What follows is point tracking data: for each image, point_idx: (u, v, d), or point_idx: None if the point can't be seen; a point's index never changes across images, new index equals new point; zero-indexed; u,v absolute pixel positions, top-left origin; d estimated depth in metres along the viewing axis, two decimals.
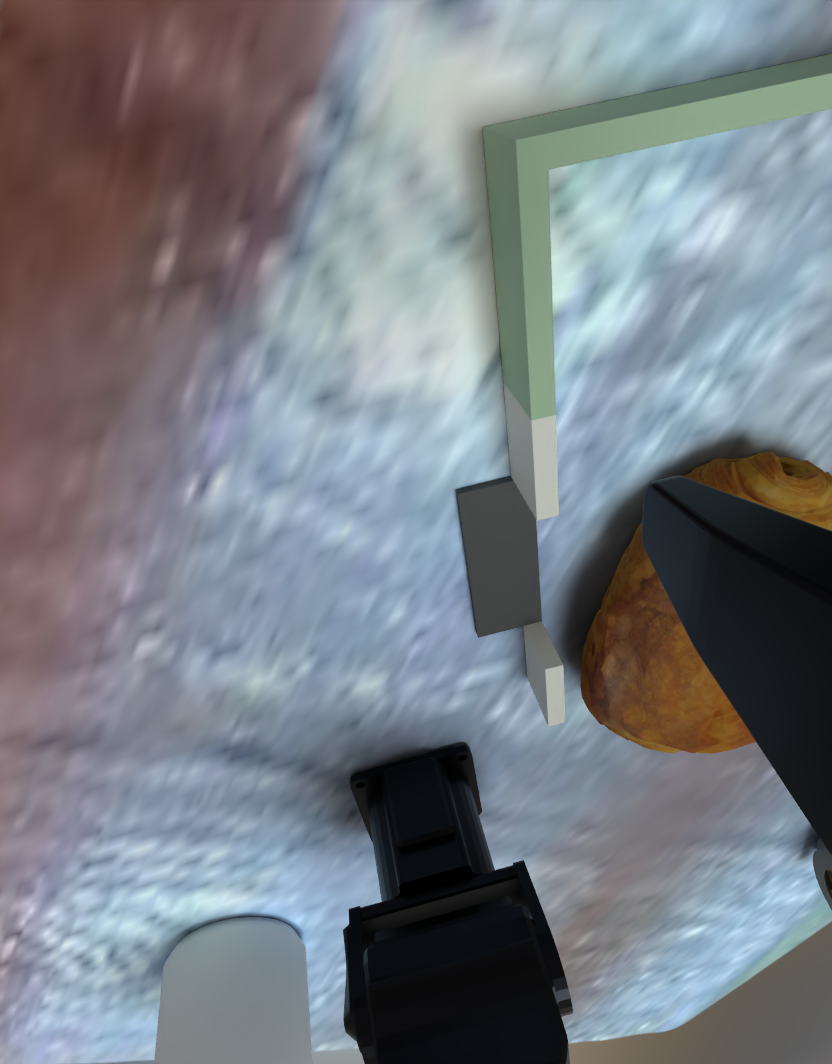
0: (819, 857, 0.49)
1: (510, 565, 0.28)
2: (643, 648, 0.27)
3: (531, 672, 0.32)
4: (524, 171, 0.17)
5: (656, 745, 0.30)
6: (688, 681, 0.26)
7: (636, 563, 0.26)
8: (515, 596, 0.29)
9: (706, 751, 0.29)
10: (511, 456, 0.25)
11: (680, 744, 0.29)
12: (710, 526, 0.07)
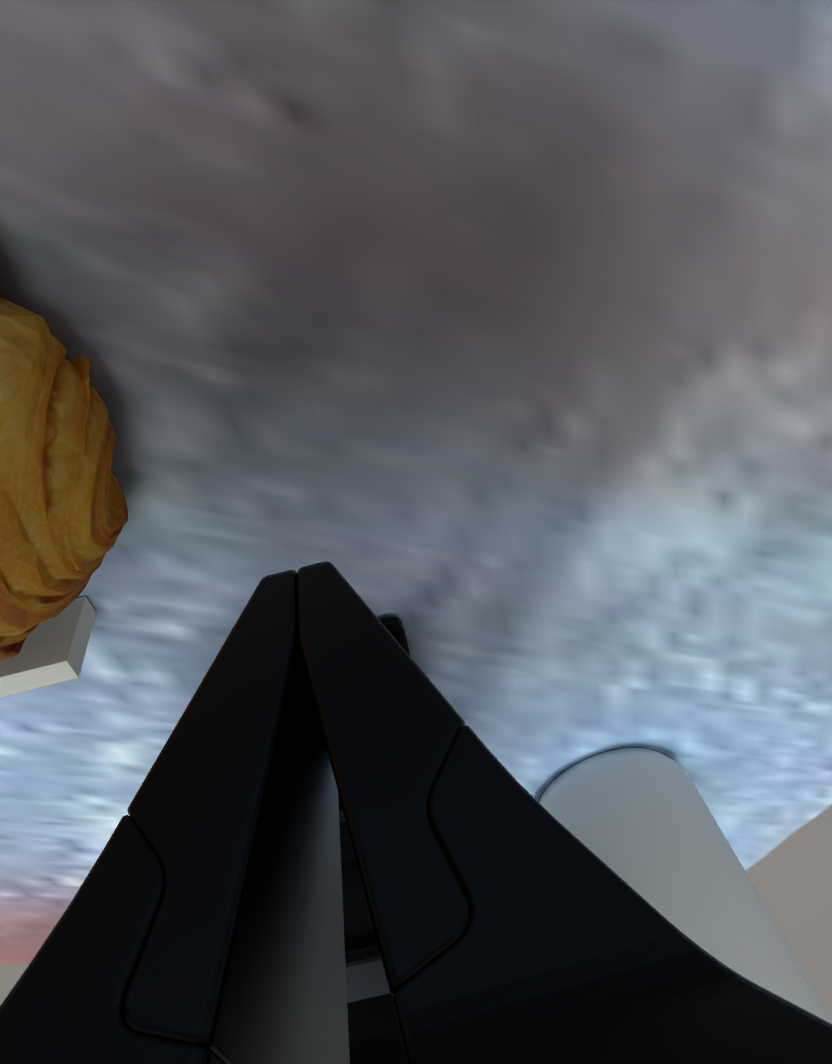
0: None
1: None
2: None
3: None
4: None
5: None
6: None
7: None
8: None
9: None
10: None
11: None
12: (303, 628, 0.07)
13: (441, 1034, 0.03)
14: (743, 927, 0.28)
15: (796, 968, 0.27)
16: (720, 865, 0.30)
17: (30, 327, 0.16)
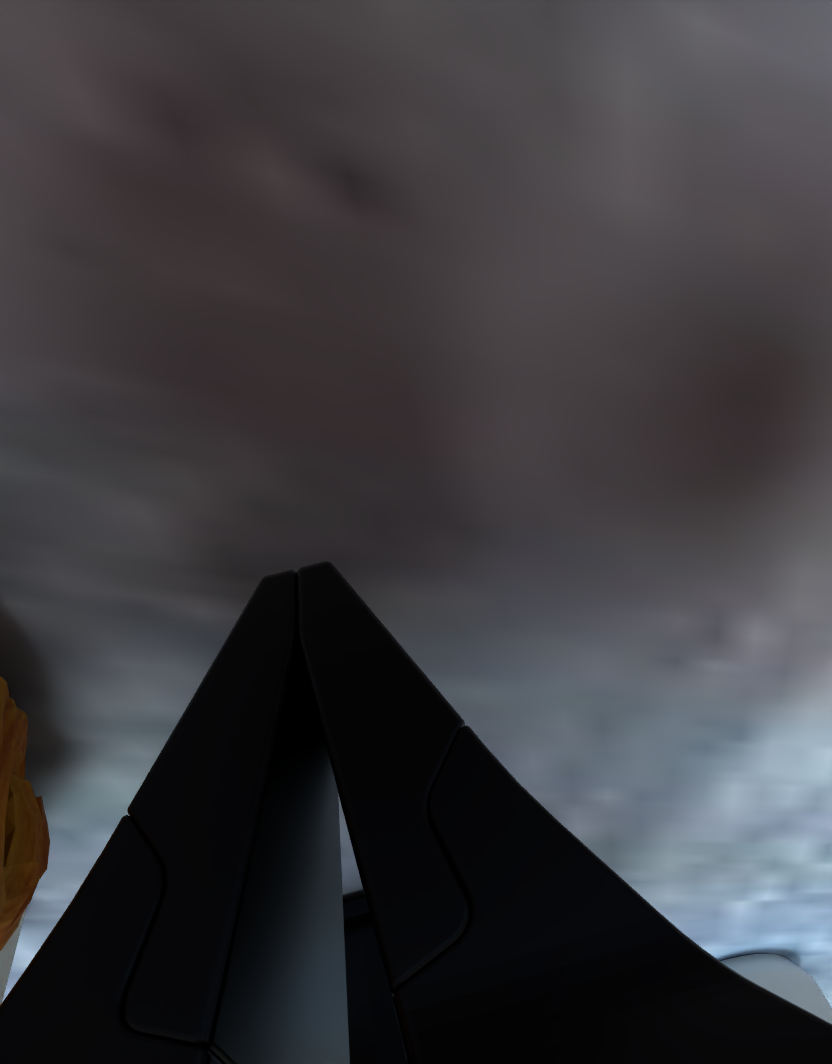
0: None
1: None
2: None
3: None
4: None
5: None
6: None
7: None
8: None
9: None
10: None
11: None
12: (303, 628, 0.07)
13: (442, 1034, 0.03)
14: None
15: None
16: None
17: None
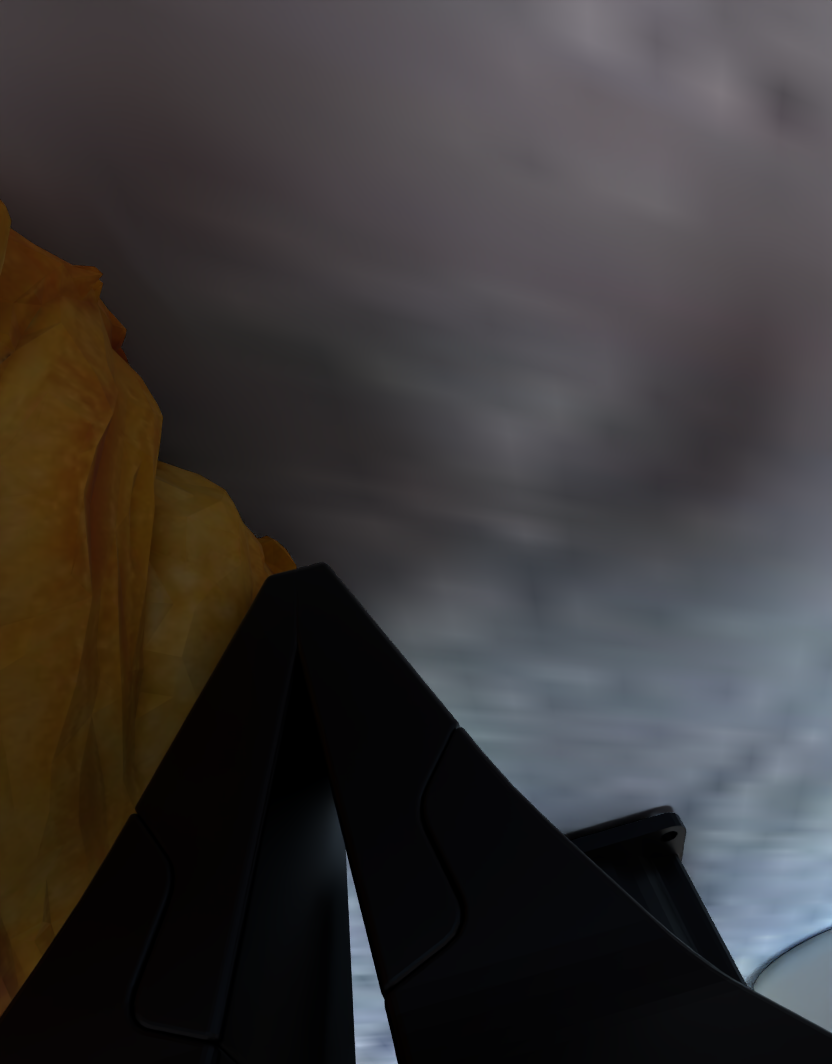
0: None
1: None
2: None
3: None
4: None
5: None
6: None
7: None
8: None
9: None
10: None
11: None
12: (298, 629, 0.07)
13: (432, 1037, 0.03)
14: None
15: None
16: None
17: (223, 527, 0.08)
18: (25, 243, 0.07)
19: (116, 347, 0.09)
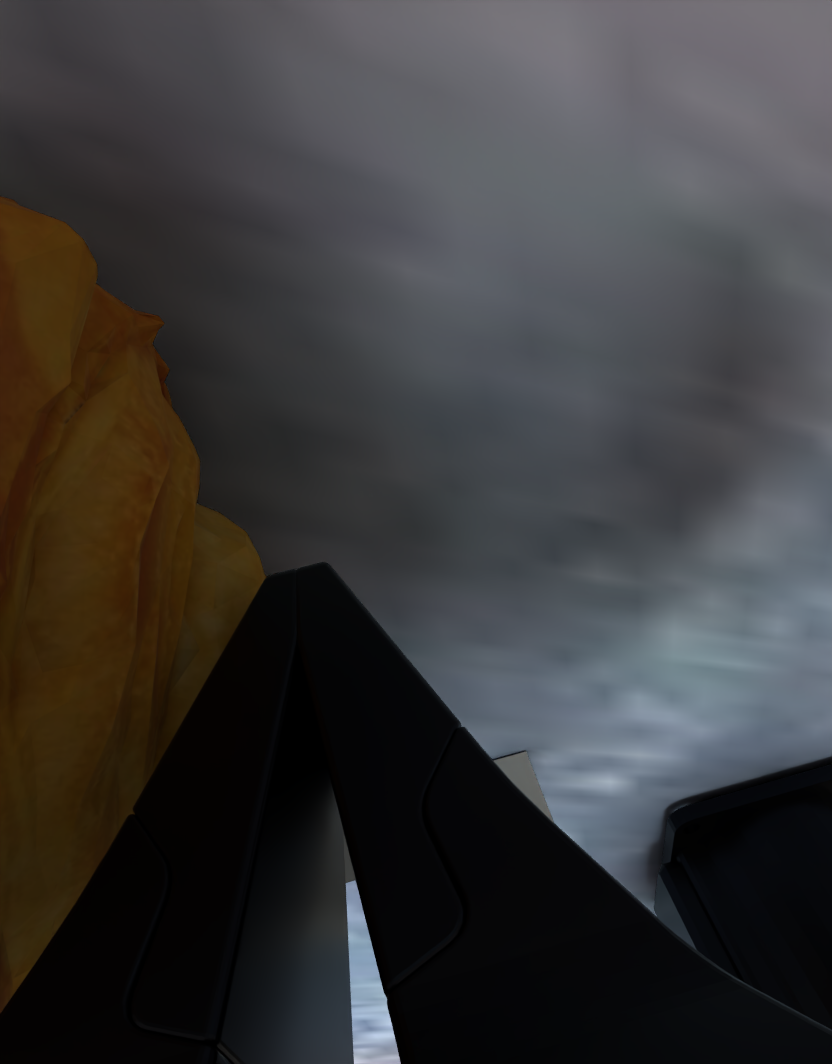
0: None
1: None
2: None
3: None
4: None
5: None
6: None
7: None
8: None
9: None
10: None
11: None
12: (300, 629, 0.07)
13: (435, 1036, 0.03)
14: None
15: None
16: None
17: (247, 573, 0.09)
18: (100, 292, 0.07)
19: None
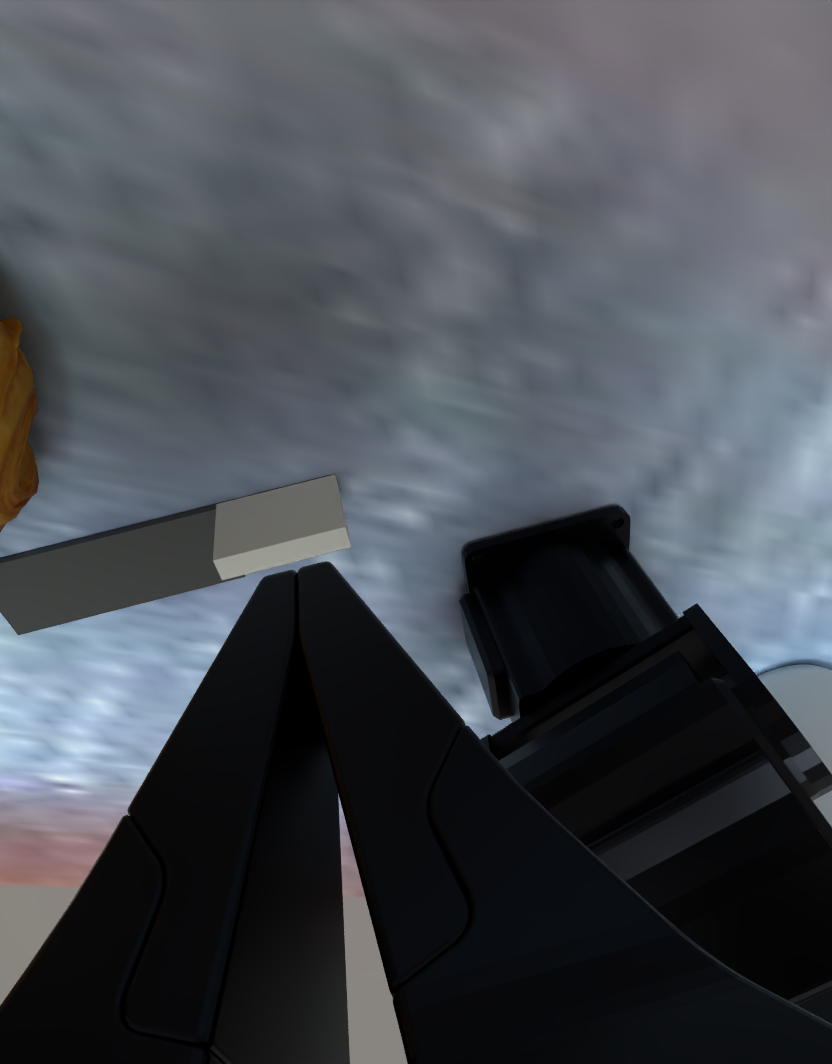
0: None
1: (116, 566, 0.22)
2: None
3: None
4: None
5: None
6: None
7: None
8: (170, 550, 0.23)
9: None
10: None
11: None
12: (302, 628, 0.07)
13: (441, 1034, 0.03)
14: None
15: None
16: None
17: None
18: None
19: None
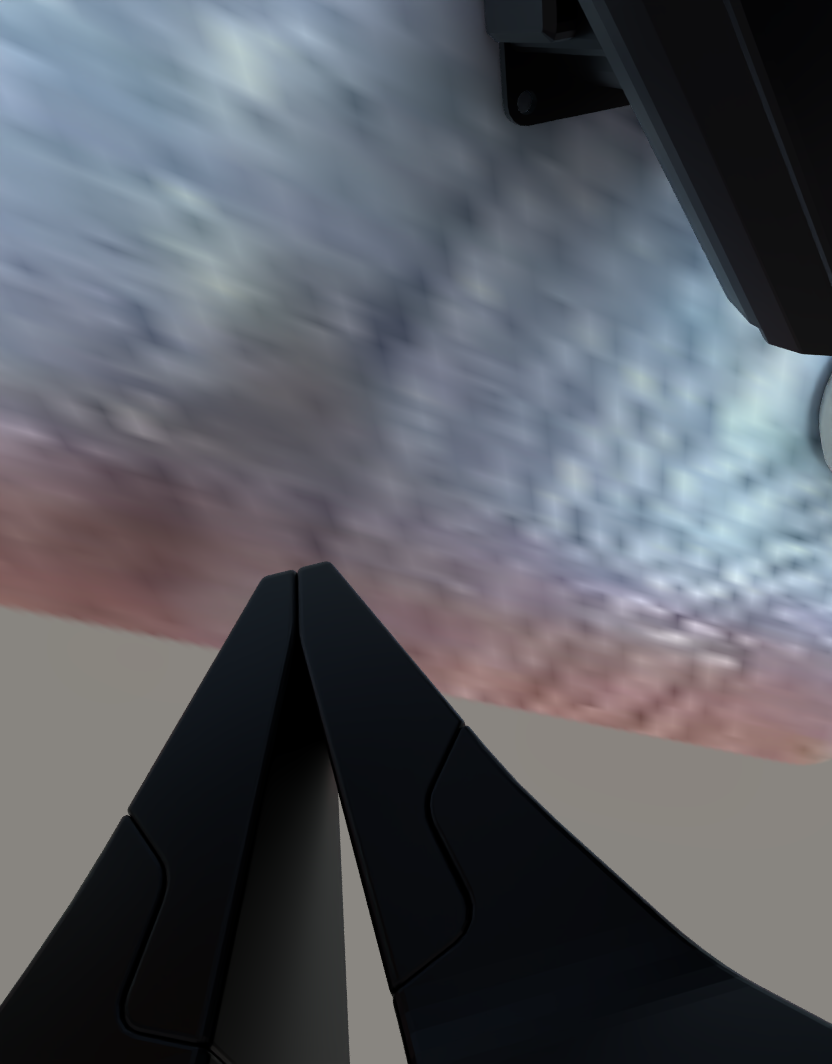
0: None
1: None
2: None
3: None
4: None
5: None
6: None
7: None
8: None
9: None
10: None
11: None
12: (303, 628, 0.07)
13: (442, 1034, 0.03)
14: None
15: None
16: None
17: None
18: None
19: None
